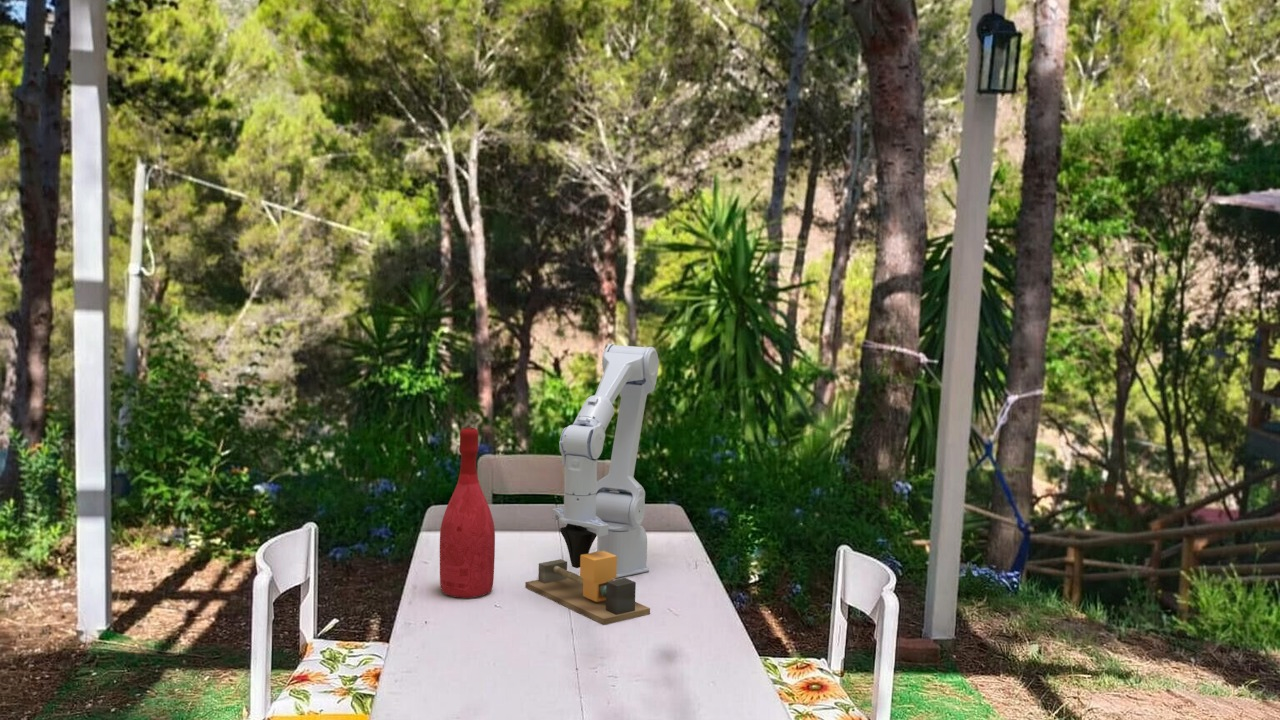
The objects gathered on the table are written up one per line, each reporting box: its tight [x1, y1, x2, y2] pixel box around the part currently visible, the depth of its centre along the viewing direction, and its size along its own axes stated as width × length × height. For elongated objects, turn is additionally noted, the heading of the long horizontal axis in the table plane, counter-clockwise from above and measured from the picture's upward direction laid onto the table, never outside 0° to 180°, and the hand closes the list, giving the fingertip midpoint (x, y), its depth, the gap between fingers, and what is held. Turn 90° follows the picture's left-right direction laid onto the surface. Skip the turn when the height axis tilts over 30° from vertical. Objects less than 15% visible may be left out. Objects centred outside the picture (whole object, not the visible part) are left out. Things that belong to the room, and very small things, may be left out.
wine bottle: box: [439, 427, 496, 599], centre depth 201 cm, size 10×10×30 cm
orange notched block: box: [579, 551, 617, 602], centre depth 196 cm, size 4×5×8 cm
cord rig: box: [525, 558, 651, 626], centre depth 199 cm, size 24×10×6 cm, turn 39°
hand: (578, 566), depth 201 cm, fingers closed
